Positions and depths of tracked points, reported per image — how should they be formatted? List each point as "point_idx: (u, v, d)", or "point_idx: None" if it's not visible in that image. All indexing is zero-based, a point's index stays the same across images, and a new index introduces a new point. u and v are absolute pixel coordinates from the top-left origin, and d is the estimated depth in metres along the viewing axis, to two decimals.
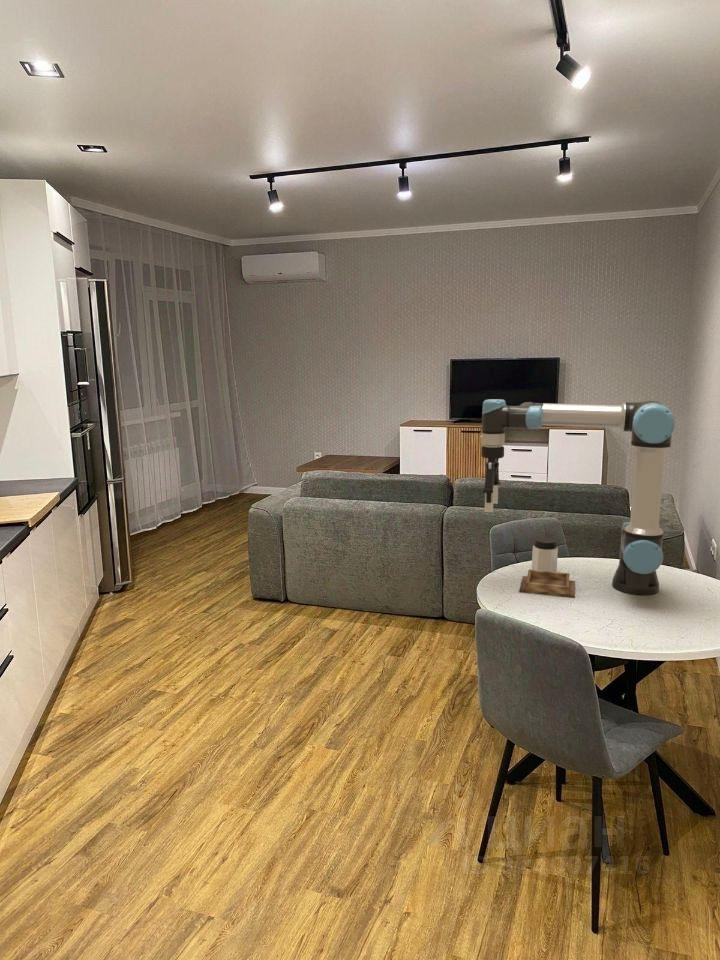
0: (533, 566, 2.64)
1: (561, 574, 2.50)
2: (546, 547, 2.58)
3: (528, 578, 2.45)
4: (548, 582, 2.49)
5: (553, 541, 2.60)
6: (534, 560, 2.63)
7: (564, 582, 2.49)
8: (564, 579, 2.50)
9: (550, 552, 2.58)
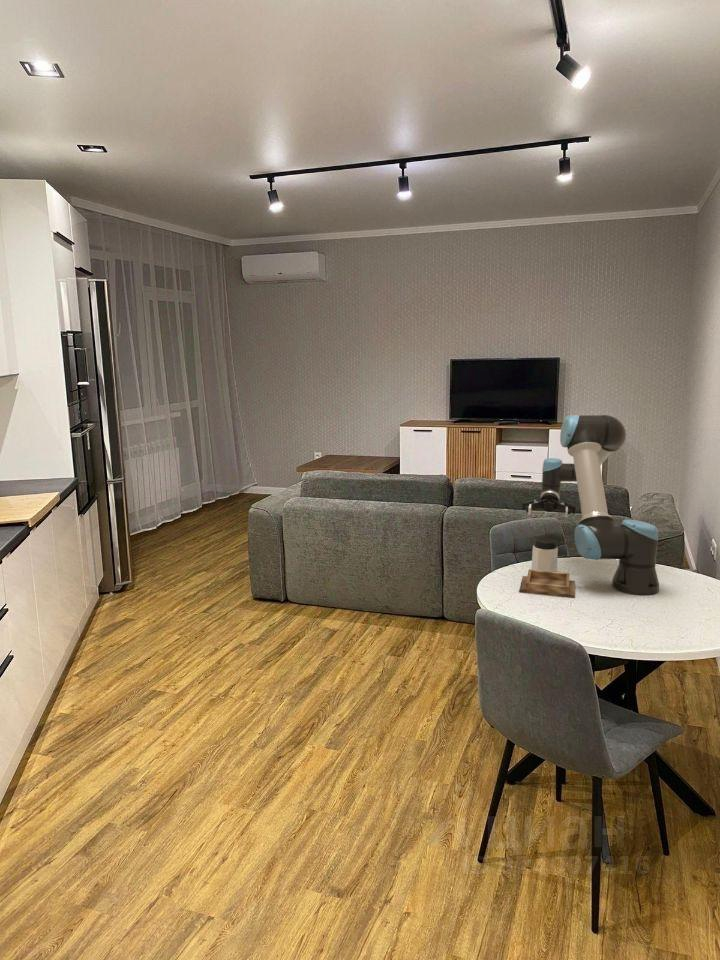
0: (533, 566, 2.64)
1: (561, 574, 2.50)
2: (546, 547, 2.58)
3: (528, 578, 2.45)
4: (548, 582, 2.49)
5: (553, 541, 2.60)
6: (534, 560, 2.63)
7: (564, 582, 2.49)
8: (564, 579, 2.50)
9: (550, 552, 2.58)
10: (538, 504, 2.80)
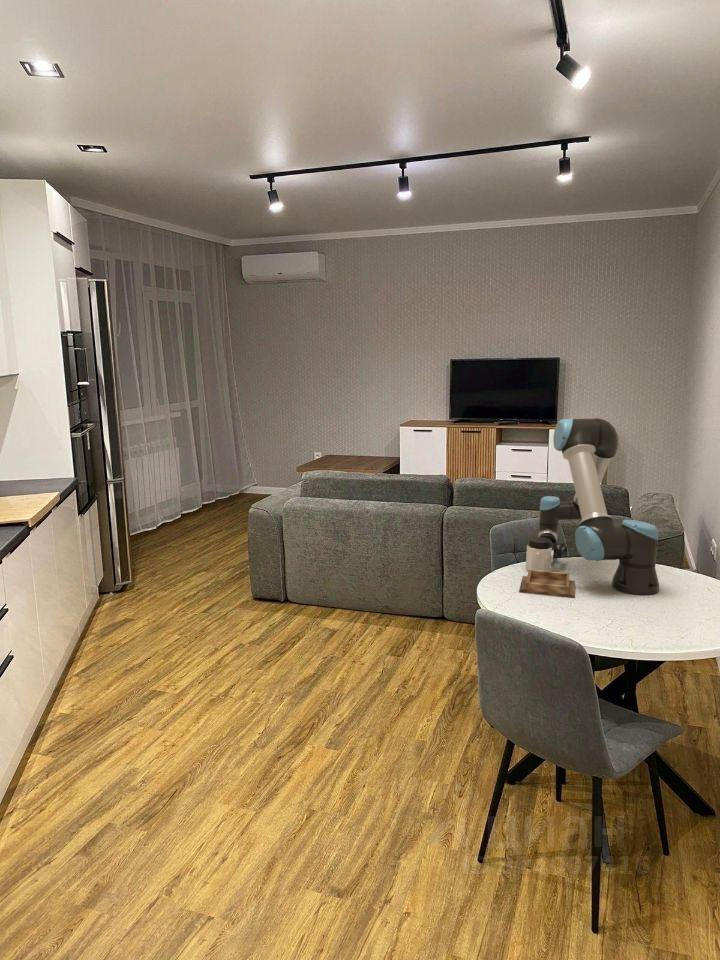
0: (527, 565, 2.64)
1: (561, 574, 2.50)
2: (539, 546, 2.59)
3: (528, 578, 2.45)
4: (548, 582, 2.49)
5: (547, 541, 2.60)
6: (528, 559, 2.63)
7: (564, 582, 2.49)
8: (564, 579, 2.50)
9: (543, 552, 2.59)
10: None
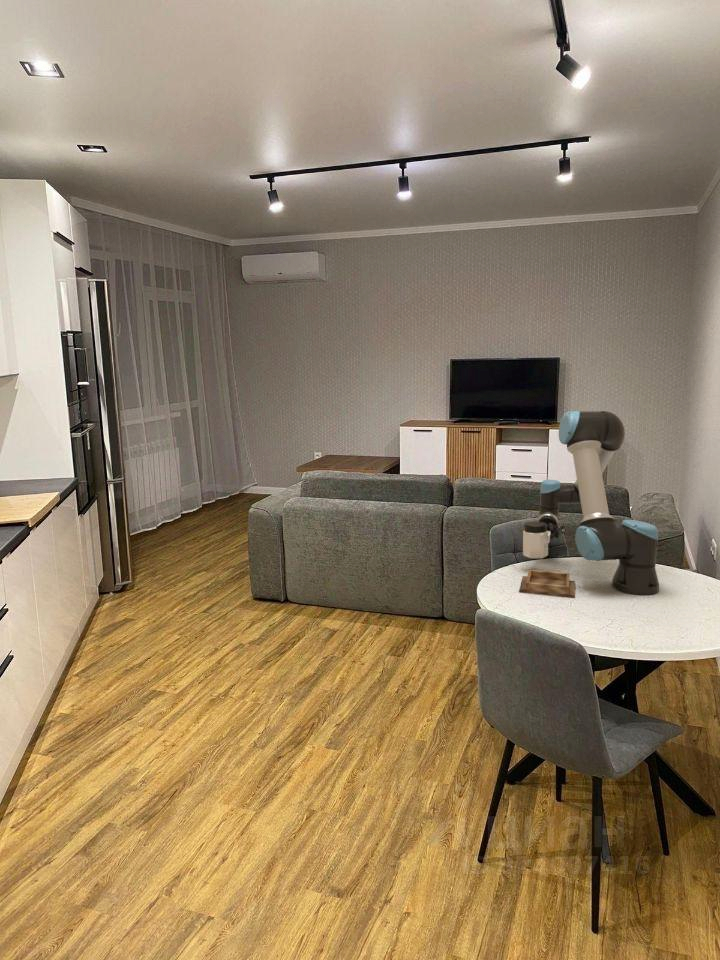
0: (525, 551, 2.62)
1: (561, 574, 2.50)
2: (538, 530, 2.57)
3: (528, 578, 2.45)
4: (548, 582, 2.49)
5: (543, 524, 2.59)
6: (525, 545, 2.61)
7: (564, 582, 2.49)
8: (564, 579, 2.50)
9: None
10: None
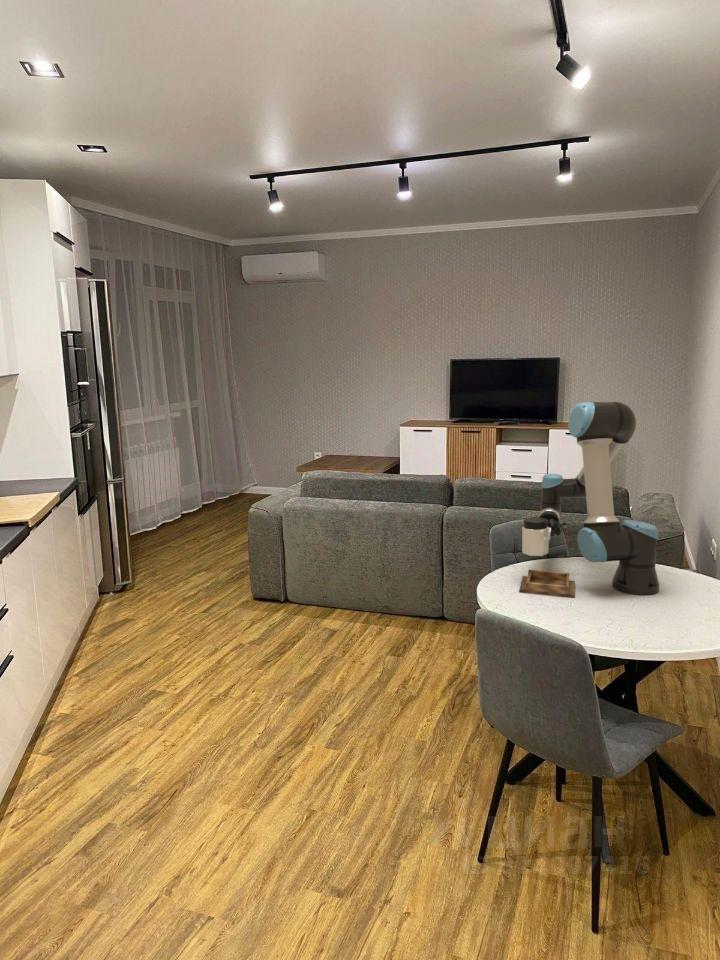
0: (524, 548, 2.50)
1: (561, 574, 2.50)
2: (538, 527, 2.45)
3: (528, 578, 2.45)
4: (548, 582, 2.49)
5: (543, 520, 2.47)
6: (525, 542, 2.49)
7: (564, 582, 2.49)
8: (564, 579, 2.50)
9: None
10: None
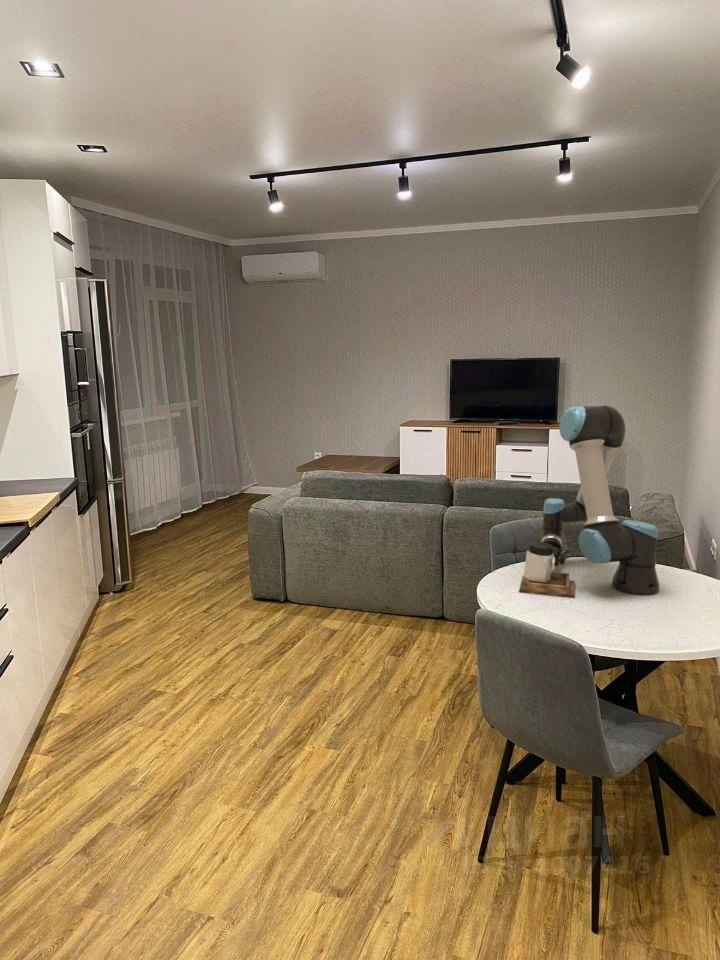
0: (526, 572, 2.45)
1: (561, 574, 2.50)
2: (543, 553, 2.40)
3: None
4: (548, 582, 2.49)
5: (549, 547, 2.42)
6: (528, 566, 2.44)
7: (564, 582, 2.49)
8: (564, 579, 2.50)
9: (546, 558, 2.40)
10: None
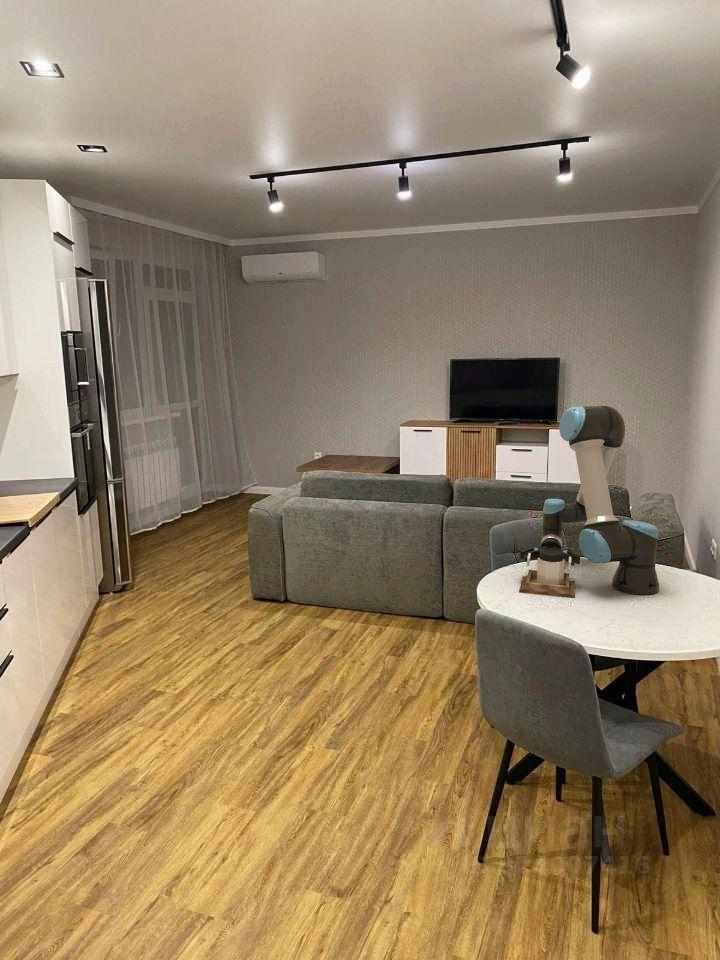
0: (539, 580, 2.45)
1: None
2: (554, 559, 2.40)
3: (528, 578, 2.45)
4: None
5: (560, 553, 2.42)
6: (540, 574, 2.44)
7: (564, 582, 2.49)
8: (564, 579, 2.50)
9: (558, 565, 2.40)
10: (538, 552, 2.52)
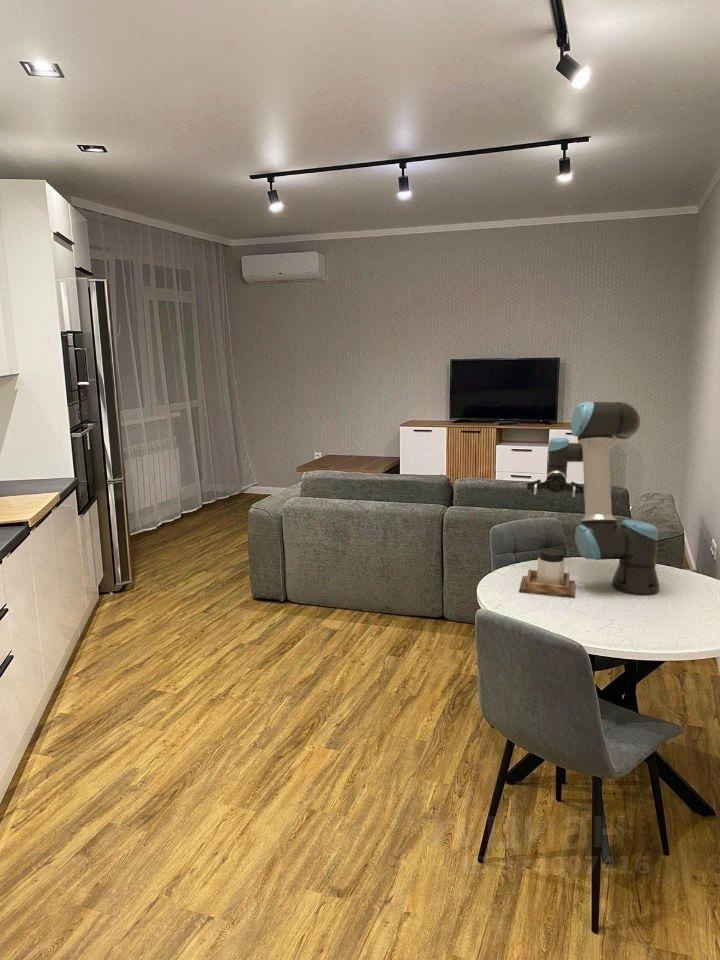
0: (539, 580, 2.45)
1: None
2: (554, 559, 2.40)
3: (528, 578, 2.45)
4: None
5: (560, 552, 2.42)
6: (540, 574, 2.44)
7: (564, 582, 2.49)
8: (564, 579, 2.50)
9: (558, 565, 2.40)
10: (544, 484, 2.69)
